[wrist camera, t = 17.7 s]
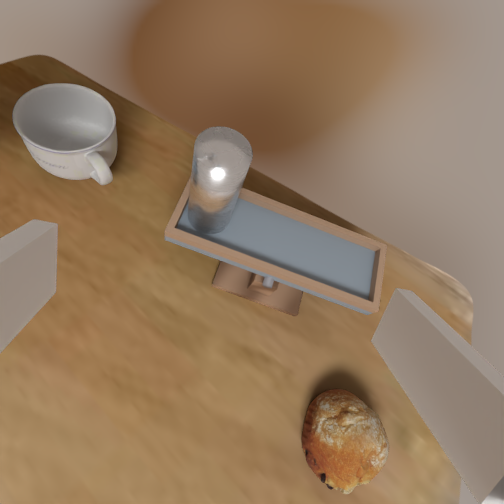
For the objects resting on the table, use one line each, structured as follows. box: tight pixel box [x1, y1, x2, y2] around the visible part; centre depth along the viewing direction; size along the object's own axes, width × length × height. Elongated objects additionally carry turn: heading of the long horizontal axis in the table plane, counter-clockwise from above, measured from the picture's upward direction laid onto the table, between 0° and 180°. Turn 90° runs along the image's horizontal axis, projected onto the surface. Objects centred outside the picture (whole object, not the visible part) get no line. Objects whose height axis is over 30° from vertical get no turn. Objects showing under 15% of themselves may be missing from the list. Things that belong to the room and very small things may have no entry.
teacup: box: [12, 83, 117, 185], centre depth 41 cm, size 14×11×8 cm
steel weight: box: [187, 127, 253, 234], centre depth 33 cm, size 5×5×12 cm
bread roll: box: [302, 389, 389, 494], centre depth 38 cm, size 10×10×8 cm
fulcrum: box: [212, 261, 303, 316], centre depth 44 cm, size 12×12×5 cm
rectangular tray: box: [165, 176, 387, 315], centre depth 40 cm, size 26×11×3 cm, turn 73°
